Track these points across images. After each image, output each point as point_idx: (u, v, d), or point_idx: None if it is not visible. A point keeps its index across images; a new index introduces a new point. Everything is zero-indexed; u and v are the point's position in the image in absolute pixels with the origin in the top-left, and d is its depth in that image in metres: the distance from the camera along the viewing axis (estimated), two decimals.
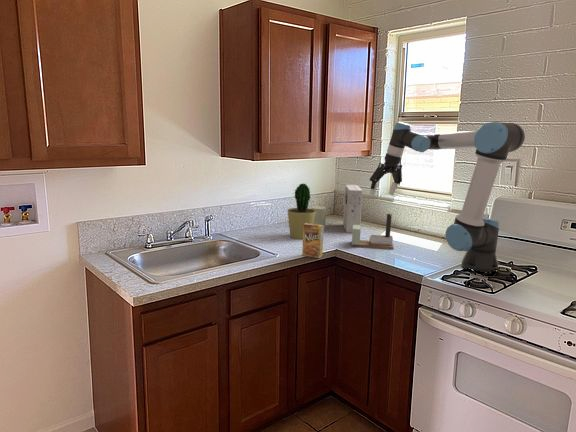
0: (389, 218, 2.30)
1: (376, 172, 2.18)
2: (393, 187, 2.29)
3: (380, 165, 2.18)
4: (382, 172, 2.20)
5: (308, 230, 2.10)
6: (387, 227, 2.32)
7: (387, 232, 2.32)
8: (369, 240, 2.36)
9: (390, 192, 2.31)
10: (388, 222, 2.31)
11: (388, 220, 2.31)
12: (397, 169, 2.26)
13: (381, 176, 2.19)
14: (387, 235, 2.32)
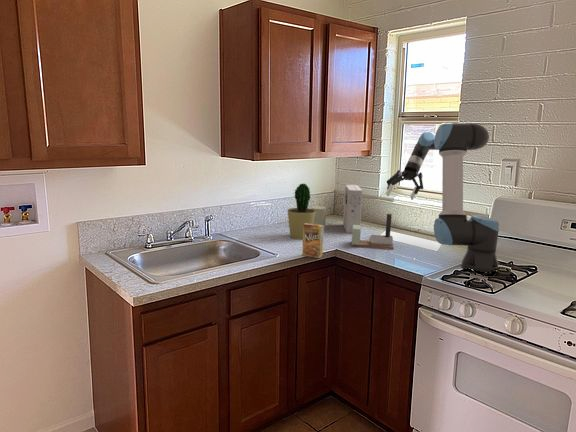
0: (389, 218, 2.30)
1: None
2: None
3: None
4: None
5: (308, 230, 2.10)
6: (387, 227, 2.32)
7: (387, 232, 2.32)
8: (369, 240, 2.36)
9: None
10: (388, 222, 2.31)
11: (388, 220, 2.31)
12: (419, 178, 2.40)
13: (396, 178, 2.44)
14: (387, 235, 2.32)
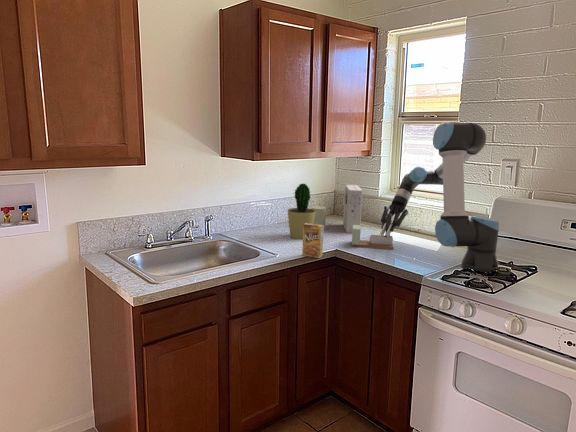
0: (389, 218, 2.30)
1: None
2: None
3: None
4: None
5: (308, 230, 2.10)
6: (387, 227, 2.32)
7: None
8: (369, 240, 2.36)
9: None
10: (388, 222, 2.31)
11: (388, 220, 2.31)
12: None
13: None
14: None
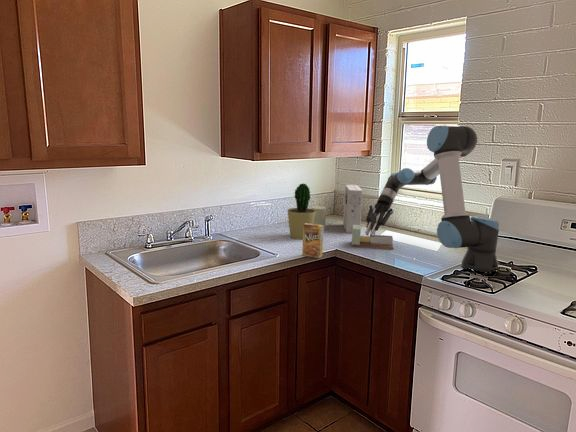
0: (374, 217, 2.31)
1: None
2: None
3: None
4: None
5: (308, 230, 2.10)
6: (372, 226, 2.33)
7: None
8: None
9: None
10: (373, 221, 2.32)
11: (373, 219, 2.32)
12: None
13: None
14: None
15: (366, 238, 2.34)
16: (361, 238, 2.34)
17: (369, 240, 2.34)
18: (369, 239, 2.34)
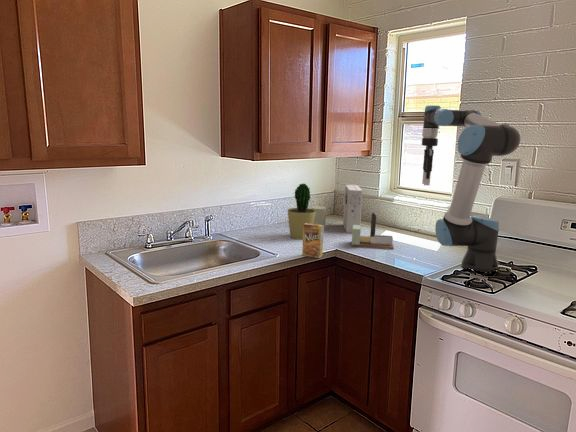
0: (374, 217, 2.31)
1: None
2: None
3: None
4: None
5: (308, 230, 2.10)
6: (372, 226, 2.33)
7: (372, 231, 2.33)
8: None
9: None
10: (373, 221, 2.32)
11: (373, 219, 2.32)
12: None
13: (424, 162, 2.29)
14: (372, 234, 2.33)
15: (366, 238, 2.34)
16: (361, 238, 2.34)
17: (369, 240, 2.34)
18: (369, 239, 2.34)
